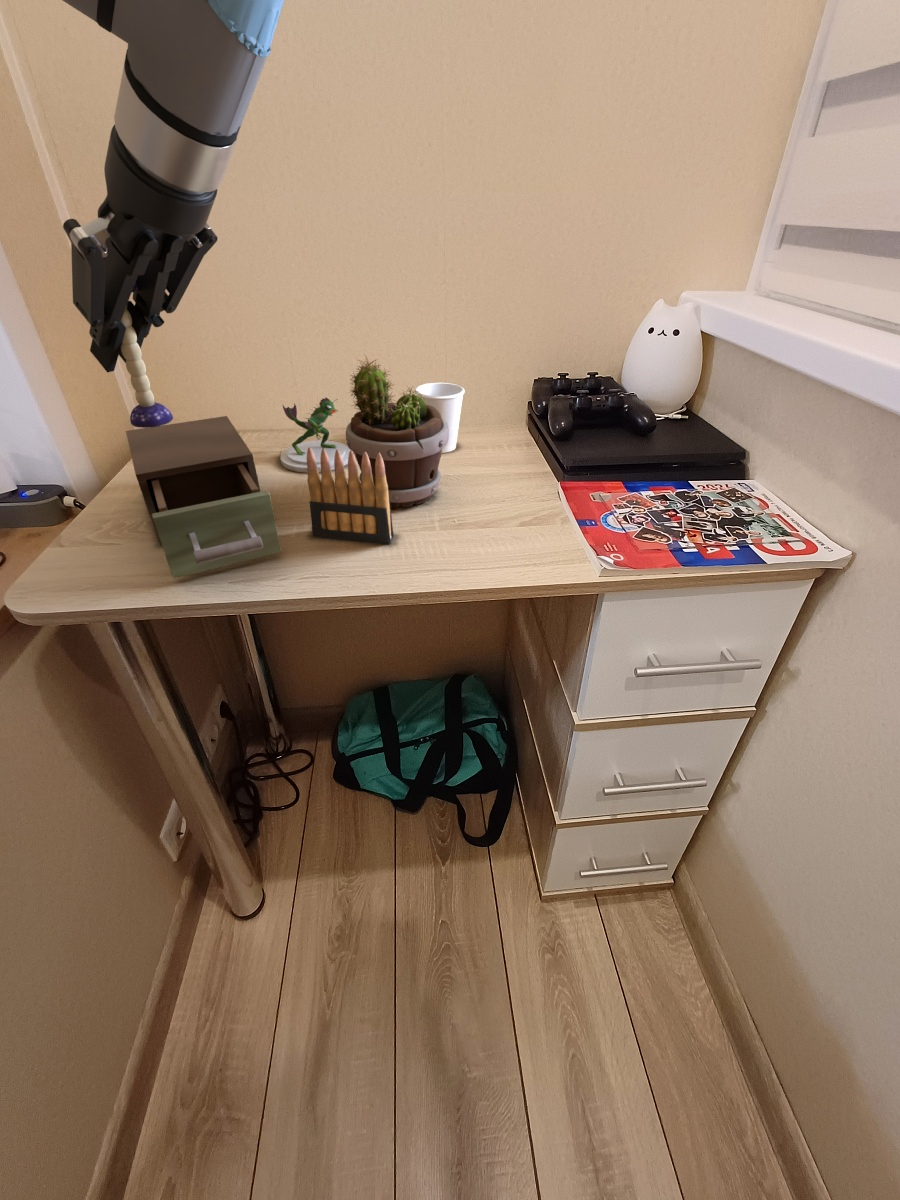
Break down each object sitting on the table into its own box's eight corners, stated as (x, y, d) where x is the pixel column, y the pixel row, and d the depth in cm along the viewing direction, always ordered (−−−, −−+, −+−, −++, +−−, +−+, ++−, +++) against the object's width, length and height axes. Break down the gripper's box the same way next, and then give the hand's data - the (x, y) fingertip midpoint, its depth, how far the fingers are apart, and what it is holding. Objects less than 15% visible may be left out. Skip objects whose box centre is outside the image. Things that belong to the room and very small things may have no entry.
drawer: (294, 575, 67) (283, 515, 62) (180, 605, 62) (158, 542, 57) (252, 501, 82) (241, 448, 77) (158, 521, 77) (139, 466, 72)
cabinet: (266, 521, 79) (252, 453, 73) (159, 545, 74) (135, 474, 68) (240, 476, 91) (226, 415, 85) (147, 494, 86) (125, 430, 80)
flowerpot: (455, 475, 92) (456, 342, 80) (439, 520, 79) (438, 371, 68) (367, 470, 93) (356, 338, 82) (339, 513, 81) (320, 365, 69)
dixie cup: (443, 459, 97) (443, 400, 91) (406, 447, 101) (404, 390, 95) (472, 445, 102) (474, 388, 96) (437, 434, 106) (436, 379, 101)
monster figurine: (345, 473, 92) (338, 409, 86) (272, 472, 93) (260, 408, 87) (358, 445, 102) (352, 387, 96) (291, 444, 102) (282, 385, 96)
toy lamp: (162, 410, 65) (106, 237, 55) (188, 418, 63) (135, 240, 53) (123, 423, 62) (56, 242, 52) (149, 432, 60) (85, 245, 50)
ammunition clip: (394, 537, 76) (388, 450, 69) (390, 544, 74) (384, 456, 67) (317, 529, 77) (304, 443, 70) (312, 536, 76) (298, 449, 69)
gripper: (215, 119, 48) (151, 316, 65) (35, 102, 38) (14, 341, 55) (272, 197, 49) (194, 372, 66) (111, 201, 39) (68, 406, 56)
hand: (113, 358), depth 60 cm, fingers closed on toy lamp, 2 cm apart
